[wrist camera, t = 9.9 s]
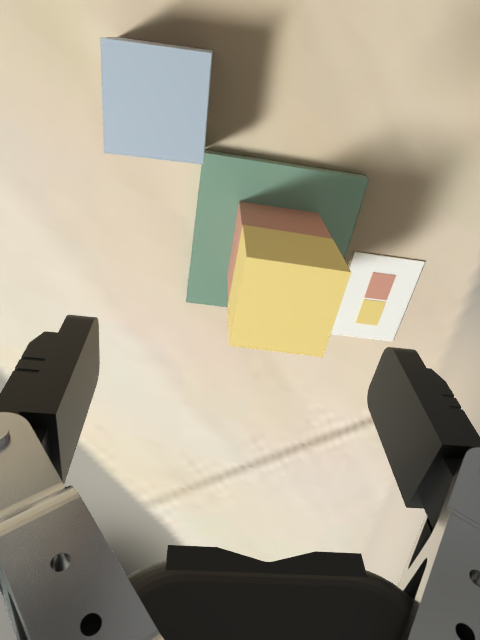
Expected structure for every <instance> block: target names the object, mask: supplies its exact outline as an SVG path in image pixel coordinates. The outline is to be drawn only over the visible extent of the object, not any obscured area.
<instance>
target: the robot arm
mask: <svg viewBox="0 0 480 640" xmlns="http://www.w3.org/2000/svg"><path fill="white" fill-rule="evenodd" d="M98 375H99V325H98V319H97V318H96V317H86V316H76V315H67V316H66V318H65V320H64V322H63V324H62V326H61V328H60V330H59V332H58V333H55V332H43V333H42V334H41V335H39V336H38V337H37V338H35V339H34V340H33V341H31V342H30V343H29V344H28V346H27V348H26V350H25V351H24V353H23V355H22V358H21V359H20V360H19V362H18V364H17V365H16V367H15V371H13V372H12V374H11V376H10V378H9V379H8V381H7V383H6V385H5V386H4V388H3V390H2V392H1V393H0V592H1V595H2V598H3V600H4V603H5V606H6V609H7V611H8V615H9V618H10V620H11V624H12V627H13V630H14V633H15V636H16V638H17V640H480V437H479V435H478V433H477V432H476V430H475V429H474V427H473V425H472V424H471V422H470V420H469V419H468V417H467V415H466V414H465V412H464V411H463V410H461V406H460V404H459V403H458V401H457V399H456V398H454V394H453V393H452V391H451V390H450V388H449V386H448V385H447V383H446V382H445V381H444V380H443V379H442V378H441V377H440V376H439V375H438V374H437V373H435V372H434V371H433V370H432V369H429V368H426V366H425V365H424V363H423V361H422V360H421V358H420V356H419V354H418V353H417V351H415V350H412V349H402V348H392V347H388V348H386V349H385V350H384V352H383V354H382V356H381V359H380V361H379V364H378V366H377V369H376V371H375V374H374V376H373V379H372V381H371V384H370V386H369V389H368V396H367V401H368V408H369V411H370V413H371V416H372V419H373V421H374V424H375V427H376V429H377V432H378V435H379V437H380V440H381V442H382V445H383V448H384V450H385V453H386V456H387V458H388V461H389V463H390V466H391V469H392V471H393V474H394V477H395V479H396V482H397V484H398V487H399V490H400V492H401V495H402V498H403V500H404V502H405V505H406V507H407V508H424V509H425V512H426V514H427V516H426V518H425V520H424V521H423V523H422V525H421V528H420V530H419V533H418V536H417V538H416V541H415V543H414V546H413V548H412V551H411V553H410V556H409V559H408V561H407V564H406V566H405V569H404V572H403V574H402V576H401V579H400V581H399V583H398V585H397V586H396V585H394V584H393V583H391V582H389V581H388V580H386V579H384V578H382V577H380V576H378V575H376V574H374V573H372V572H369V571H366V570H365V567H364V563H363V559H362V556H361V554H357V553H335V552H312V553H307V554H303V555H299V556H295V557H291V558H286V559H282V560H278V561H274V562H264V561H260V560H257V559H254V558H251V557H247V556H244V555H241V554H237V553H234V552H231V551H228V550H224V549H221V548H218V547H199V546H175V545H168V550H167V559H166V561H163V562H158V563H154V564H152V565H149V566H146V567H144V568H142V569H140V570H138V571H136V572H134V573H132V574H130V575H129V576H126V574H125V572H124V571H123V569H122V567H121V566H120V564H119V562H118V560H117V559H116V557H115V555H114V553H113V552H112V550H111V548H110V547H109V545H108V543H107V542H106V540H105V538H104V536H103V534H102V533H101V531H100V530H99V528H98V526H97V524H96V522H95V521H94V519H93V517H92V516H91V514H90V512H89V511H88V509H87V507H86V505H85V503H84V502H83V500H82V499H81V497H80V495H79V493H78V492H77V490H76V489H75V488H74V487H73V486H68V487H66V486H65V485H64V483H65V480H66V476H67V474H68V471H69V467H70V464H71V461H72V458H73V455H74V452H75V449H76V446H77V443H78V440H79V437H80V434H81V431H82V428H83V425H84V422H85V419H86V416H87V413H88V409H89V406H90V403H91V400H92V397H93V394H94V391H95V388H96V385H97V381H98Z"/></svg>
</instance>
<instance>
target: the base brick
mask: <svg viewBox="0 0 480 640" xmlns="http://www.w3.org/2000/svg"><path fill="white" fill-rule="evenodd" d="M243 225H248V226H254V227H261V228H267V229H274V230H280V231H287V232H293V233H299V234H306V235H312V236H319V237H325V238H331V239H332V237H331V235H330V233H329V232H328V230H327V228H326V226H325V224H324V223H323V221H322V219H321V217H320V215H319V213H315V212H308V211H301V210H295V209H288V208H281V207H274V206H267V205H261V204H254V203H247V202H240V201H239V205H238V211H237V217H236V223H235V229H234V236H233V242H232V248H231V254H230V260H229V266H228V273H227V284H228V301H229V296H230V290H231V285H232V280H233V274H234V269H235V264H236V258H237V253H238V248H239V242H240V237H241V232H242V226H243Z"/></svg>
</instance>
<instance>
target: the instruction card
mask: <svg viewBox="0 0 480 640" xmlns="http://www.w3.org/2000/svg"><path fill="white" fill-rule="evenodd" d="M424 263H425V262H424V261H419V260H412V259H404V258H397V257H390V256H383V255H376V254H368V253H361V252H354V255H353V258H352V261H351V265H350V268H349V269H350V271H351V275H350V278H349V281H348V284H347V287H346V290H345V293H344V296H343V299H342V302H341V305H340V308H339V311H338V314H337V317H336V320H335V323H334V326H333V329H332V332H331V334H333V335H342V336H350V337H359V338H367V339H376V340H385V341H393V339H394V337H395V334H396V332H397V329H398V327H399V324H400V322H401V320H402V317H403V315H404V312H405V310H406V307H407V305H408V302H409V300H410V297H411V295H412V293H413V290H414V288H415V285H416V283H417V280H418V278H419V275H420V273H421V270H422V268H423V265H424Z"/></svg>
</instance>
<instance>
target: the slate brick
mask: <svg viewBox="0 0 480 640" xmlns="http://www.w3.org/2000/svg"><path fill="white" fill-rule="evenodd" d="M100 42H101V73H102V103H103V134H104V153H109V154H117V155H126V156H134V157H143V158H152V159H160V160H169V161H177V162H186V163H195V164H203V161H204V153H205V145H206V132H207V119H208V107H209V94H210V81H211V68H212V56H213V50H207V49H200V48H192V47H185V46H178V45H171V44H164V43H157V42H149V41H142V40H135V39H128V38H121V37H105V38H100Z"/></svg>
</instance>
